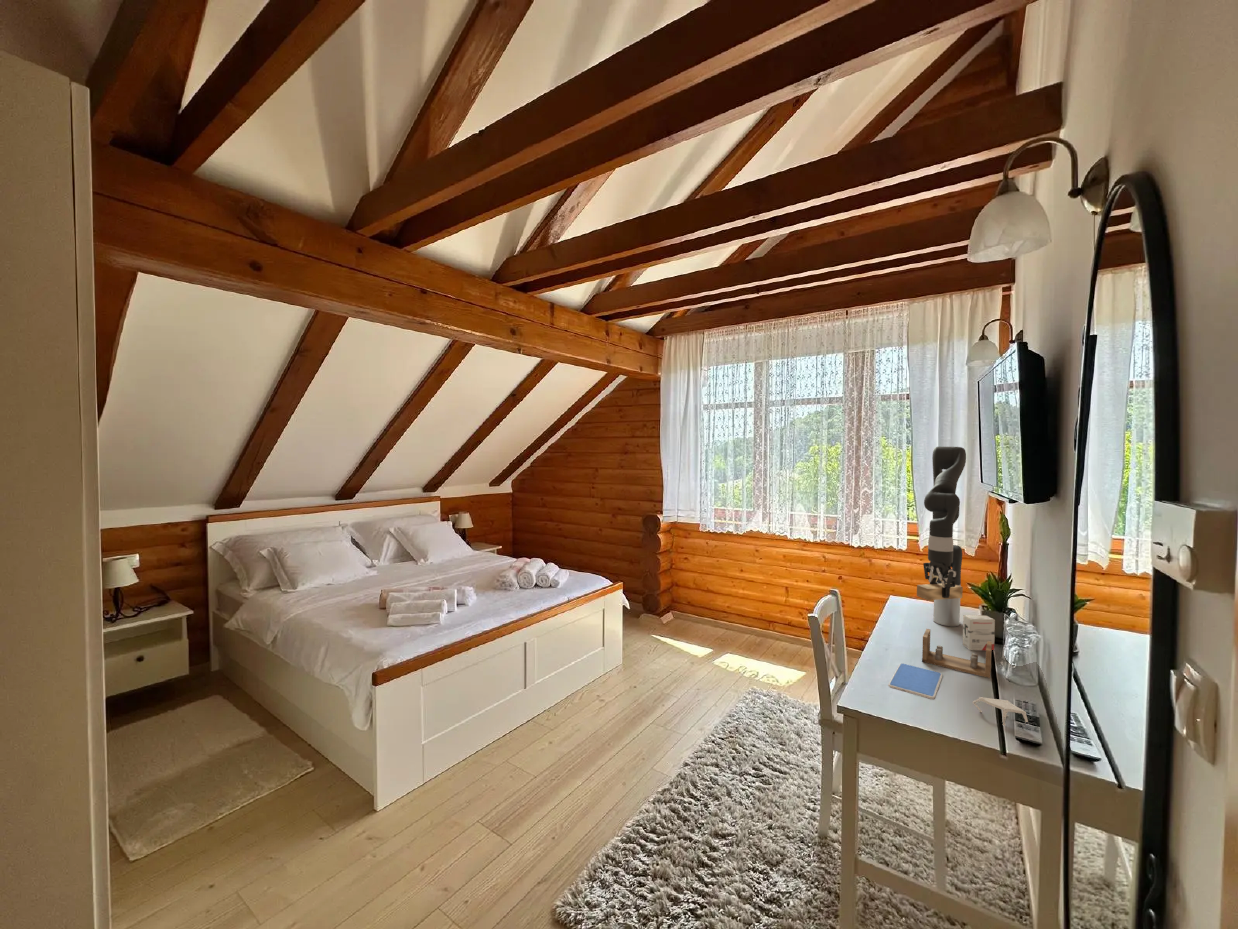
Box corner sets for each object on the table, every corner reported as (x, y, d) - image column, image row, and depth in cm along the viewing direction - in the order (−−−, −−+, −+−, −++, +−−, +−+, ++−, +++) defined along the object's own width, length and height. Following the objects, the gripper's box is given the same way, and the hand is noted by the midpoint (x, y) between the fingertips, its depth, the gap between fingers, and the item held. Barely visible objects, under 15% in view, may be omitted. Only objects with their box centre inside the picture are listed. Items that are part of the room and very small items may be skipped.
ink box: (986, 645, 185) (987, 614, 184) (994, 651, 180) (995, 619, 179) (961, 644, 186) (962, 614, 185) (969, 650, 181) (970, 619, 180)
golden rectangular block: (950, 593, 181) (951, 583, 181) (962, 598, 176) (962, 587, 176) (916, 595, 179) (916, 585, 178) (927, 600, 174) (927, 589, 173)
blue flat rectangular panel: (934, 701, 148) (934, 697, 148) (887, 688, 156) (887, 684, 156) (942, 677, 163) (943, 673, 163) (899, 665, 171) (899, 662, 171)
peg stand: (925, 652, 179) (926, 628, 179) (991, 667, 167) (991, 642, 167) (922, 661, 172) (922, 636, 172) (989, 678, 160) (990, 651, 160)
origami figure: (1024, 718, 138) (1025, 701, 137) (1028, 733, 131) (1029, 715, 130) (971, 706, 144) (972, 689, 144) (973, 719, 137) (973, 702, 137)
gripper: (966, 552, 170) (964, 601, 170) (935, 544, 184) (934, 588, 185) (946, 553, 169) (945, 602, 170) (916, 544, 183) (915, 589, 184)
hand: (939, 594), depth 177 cm, fingers closed on golden rectangular block, 5 cm apart
